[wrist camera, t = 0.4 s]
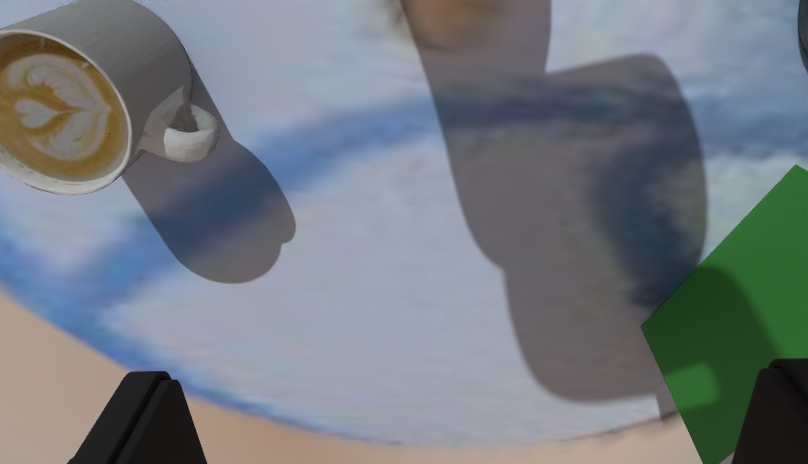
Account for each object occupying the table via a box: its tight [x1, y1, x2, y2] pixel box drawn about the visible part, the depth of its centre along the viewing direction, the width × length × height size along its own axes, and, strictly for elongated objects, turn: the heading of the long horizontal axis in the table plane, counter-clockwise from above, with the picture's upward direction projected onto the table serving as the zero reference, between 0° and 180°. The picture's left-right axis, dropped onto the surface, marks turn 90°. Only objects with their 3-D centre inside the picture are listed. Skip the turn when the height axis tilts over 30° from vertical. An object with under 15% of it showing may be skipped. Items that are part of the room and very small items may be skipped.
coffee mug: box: [0, 0, 220, 195], centre depth 39 cm, size 13×10×10 cm
